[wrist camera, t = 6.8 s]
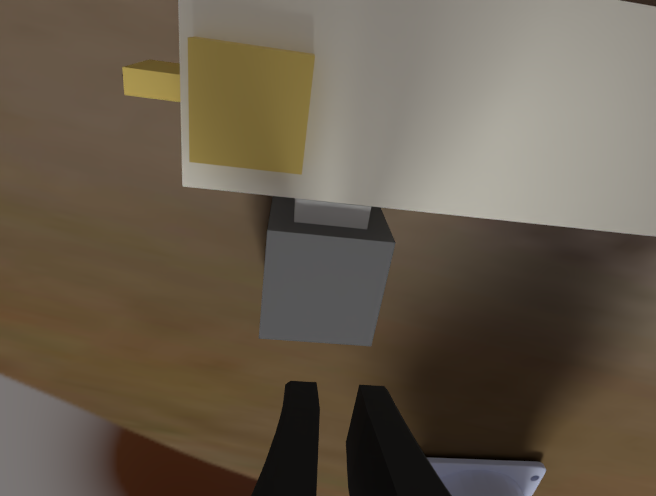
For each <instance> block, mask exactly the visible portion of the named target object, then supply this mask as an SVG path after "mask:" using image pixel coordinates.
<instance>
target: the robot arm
mask: <svg viewBox="0 0 656 496" xmlns="http://www.w3.org/2000/svg"><path fill="white" fill-rule="evenodd" d="M319 414H320V407H319V398H318V390H317V383H316V382H301V381H290V382H288V383H287V384H286V385H285V393H284V401H283V407H282V412H281V416H280V419H279V423H278V426H277V430H276V433H275V436H274V439H273V442H272V444H271V447H270V450H269V453H268V456H267V459H266V462H265V464H264V467H263V469H262V472H261V474H260V476H259V479H258V481H257V484H256V486H255V488H254V491H253V493H252V496H316V489H317V464H318V440H319ZM346 453H347V473H348V488H349V495H350V496H532V495H533V493H534V491H535V489H536V488H537V486H538V484H539V483H540V481H541V479H542V477H543V476H544V474H545V472H546V469H545V467H544V465H543V463H541V462H537V461H510V460H484V459H458V458H431V457H426V456H425V454H424V453H423V451H422V450H421V448H420V446H419V445H418V443H417V441H416V440H415V438H414V436H413V435H412V433H411V431H410V430H409V428H408V426H407V425H406V423H405V421H404V419H403V418H402V416H401V414H400V412H399V410H398V409H397V407H396V405H395V403H394V401H393V399H392V398H391V396H390V394H389V392H388V390H387V389H386V388H385V387H384V386H371V385H359V389H358V393H357V397H356V401H355V406H354V410H353V414H352V419H351V423H350V427H349V432H348V436H347V440H346Z"/></svg>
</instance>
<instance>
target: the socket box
mask: <svg viewBox="0 0 656 496" xmlns="http://www.w3.org/2000/svg"><path fill="white" fill-rule="evenodd" d="M178 9H179V54H180V64H178V63H171V62H164V61H156V60H147V61H143V62H139V63H135V64H132V65H128V66H124V67H122V68H123V81H124V93H125V95H129V96H137V97H145V98H153V99H161V100H168V101H176V102H181V144H182V186H185V187H194V188H203V189H213V190H222V191H232V192H241V193H251V194H260V195H269V196H279V197H288V198H298V199H307V200H316V201H326V202H335V203H345V204H354V205H363V206H373V207H382V208H392V209H401V210H410V211H420V212H429V213H439V214H448V215H457V216H467V217H476V218H486V219H495V220H504V221H514V222H523V223H533V224H542V225H551V226H561V227H570V228H580V229H589V230H599V231H608V232H617V233H627V234H636V235H646V236H655V237H656V7H655V6H649V5H644V4H638V3H632V2H626V1H621V0H178Z"/></svg>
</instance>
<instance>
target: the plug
mask: <svg viewBox="0 0 656 496" xmlns="http://www.w3.org/2000/svg"><path fill="white" fill-rule="evenodd" d="M394 246H395V241H394V238H393V236H392V234H391V231H390V229H389V227H388V224H387V222H386V220H385V217H384V215H383V212H382V210H381V208H380V207H373V206H363V205H354V204H345V203H335V202H326V201H316V200H307V199H298V198H288V197H279V196H273V198H272V204H271V211H270V217H269V223H268V229H267V241H266V254H265V267H264V279H263V292H262V305H261V318H260V331H259V338H260V339H275V340H289V341H304V342H318V343H332V344H347V345H361V346H371V345H372V340H373V336H374V332H375V328H376V323H377V319H378V315H379V310H380V306H381V302H382V298H383V293H384V289H385V285H386V281H387V276H388V272H389V268H390V264H391V259H392V255H393V251H394Z"/></svg>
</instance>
